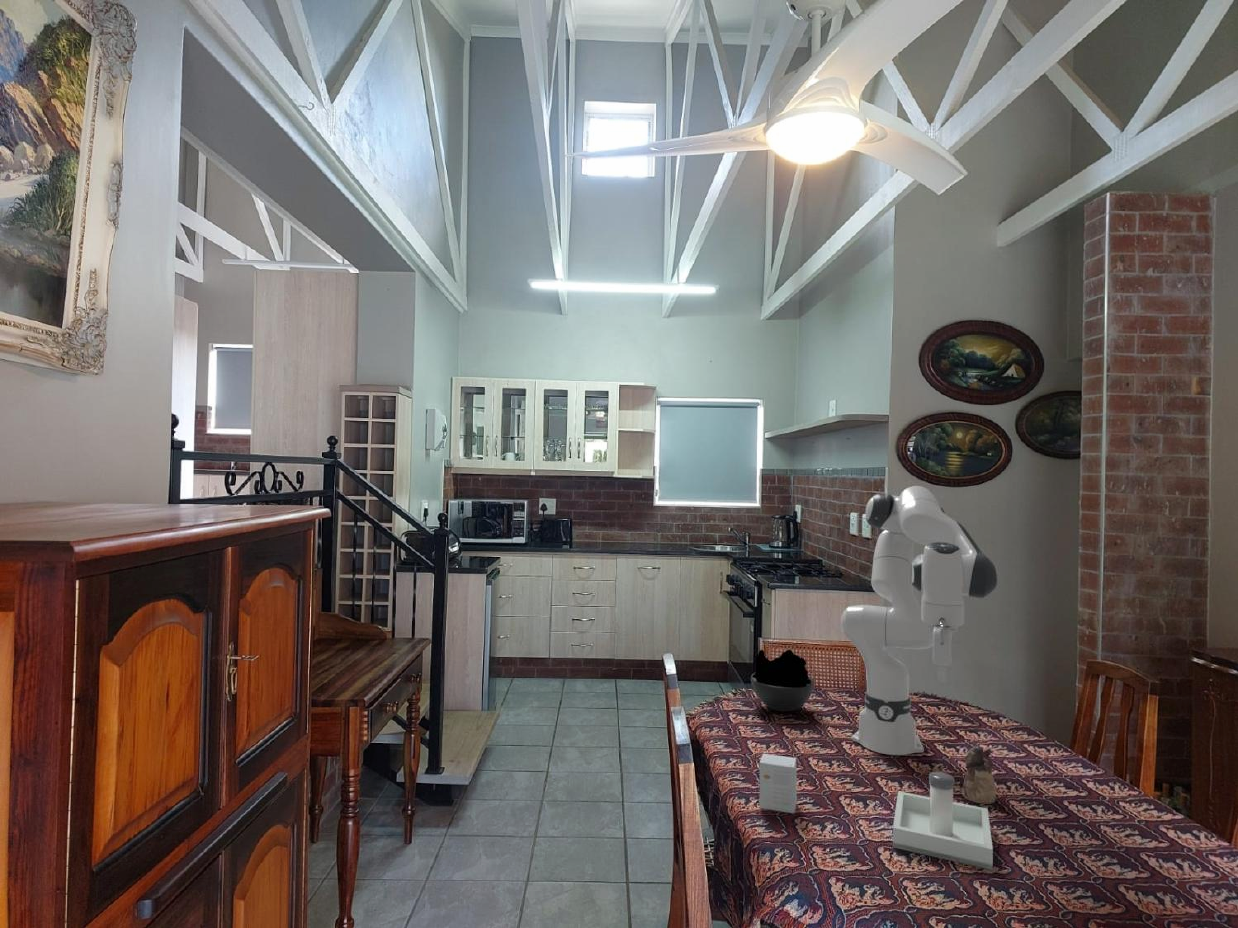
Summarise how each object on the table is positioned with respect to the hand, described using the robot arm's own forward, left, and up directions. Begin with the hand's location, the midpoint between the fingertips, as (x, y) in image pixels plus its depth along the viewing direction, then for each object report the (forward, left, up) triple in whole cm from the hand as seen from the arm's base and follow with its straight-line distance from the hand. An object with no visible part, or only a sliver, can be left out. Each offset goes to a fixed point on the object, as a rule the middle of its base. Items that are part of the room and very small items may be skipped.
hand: (942, 675), depth 155 cm
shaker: (+12, 0, -30) cm, 32 cm away
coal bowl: (-51, -47, -31) cm, 76 cm away
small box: (+14, -34, -31) cm, 48 cm away
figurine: (-12, +8, -31) cm, 34 cm away
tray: (+12, 0, -31) cm, 33 cm away
